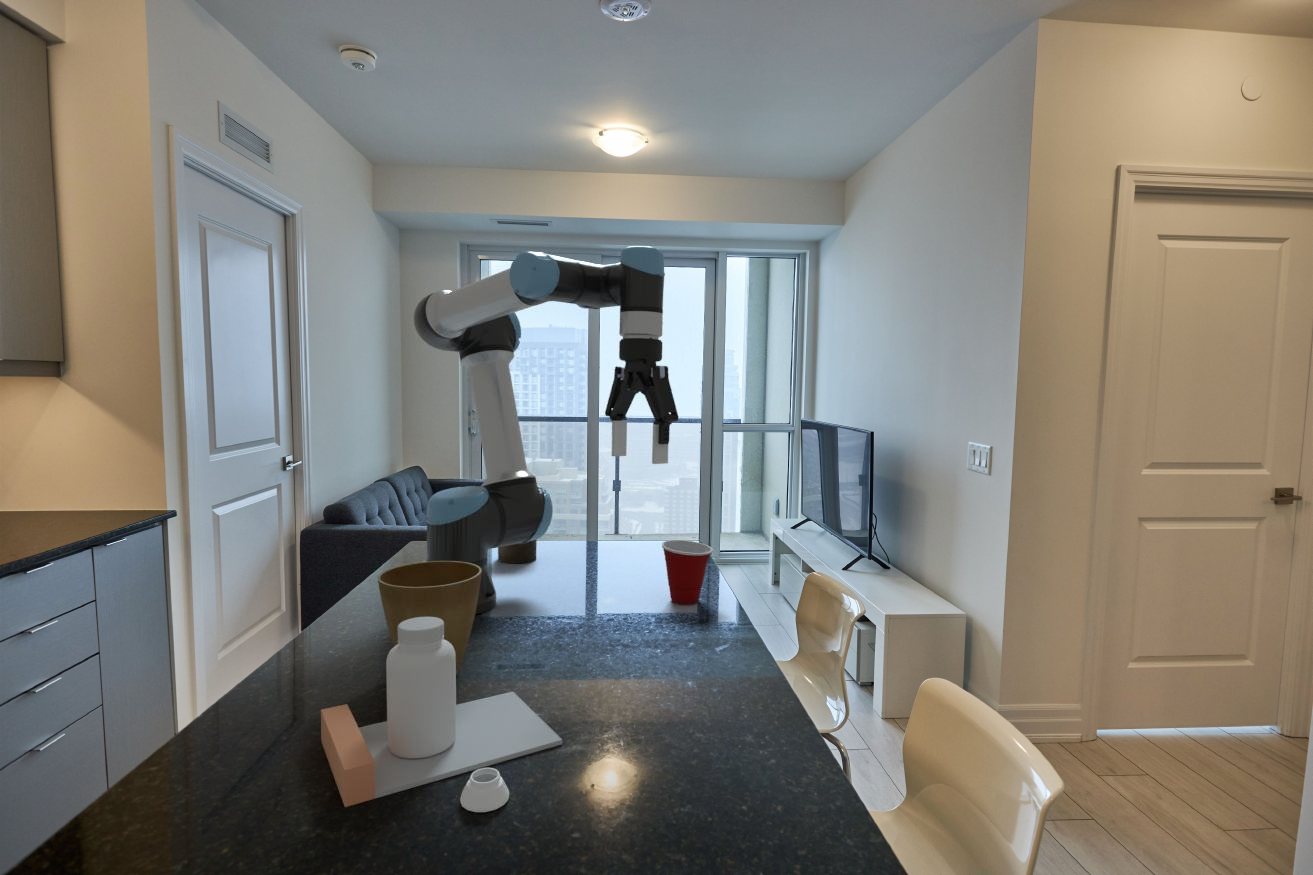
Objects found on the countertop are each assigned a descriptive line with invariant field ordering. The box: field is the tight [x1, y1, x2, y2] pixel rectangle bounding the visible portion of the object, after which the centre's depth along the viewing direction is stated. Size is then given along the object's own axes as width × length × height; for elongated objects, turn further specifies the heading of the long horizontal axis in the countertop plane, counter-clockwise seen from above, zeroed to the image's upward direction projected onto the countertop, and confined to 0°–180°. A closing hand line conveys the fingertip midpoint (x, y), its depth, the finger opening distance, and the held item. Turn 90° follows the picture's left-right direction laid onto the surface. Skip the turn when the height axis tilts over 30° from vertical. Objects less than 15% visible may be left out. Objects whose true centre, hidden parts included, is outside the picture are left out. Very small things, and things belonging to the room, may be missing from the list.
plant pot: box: [377, 561, 482, 676], centre depth 106 cm, size 15×15×16 cm
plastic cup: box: [661, 539, 714, 606], centre depth 146 cm, size 11×11×12 cm
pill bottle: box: [385, 617, 457, 759], centre depth 84 cm, size 8×8×15 cm
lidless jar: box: [460, 767, 510, 813], centre depth 75 cm, size 5×3×5 cm
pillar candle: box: [497, 539, 538, 564], centre depth 178 cm, size 10×10×15 cm
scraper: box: [320, 691, 563, 808], centre depth 86 cm, size 16×25×4 cm, turn 124°
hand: (638, 459), depth 123 cm, fingers open, 13 cm apart
